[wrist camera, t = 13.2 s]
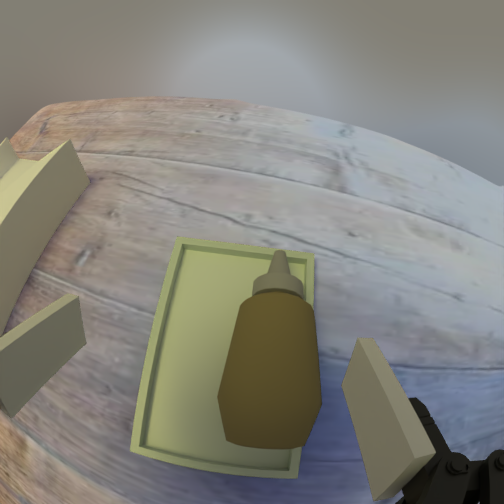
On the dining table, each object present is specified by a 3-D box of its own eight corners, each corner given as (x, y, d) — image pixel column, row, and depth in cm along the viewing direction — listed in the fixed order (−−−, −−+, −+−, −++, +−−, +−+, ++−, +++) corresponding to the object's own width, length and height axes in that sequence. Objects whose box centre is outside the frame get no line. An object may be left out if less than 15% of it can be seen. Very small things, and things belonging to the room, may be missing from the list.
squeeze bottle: (194, 441, 14) (231, 227, 25) (226, 439, 21) (247, 275, 31) (322, 452, 13) (321, 224, 23) (316, 445, 19) (319, 274, 30)
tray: (179, 245, 31) (177, 236, 30) (310, 261, 31) (314, 253, 29) (136, 448, 19) (130, 451, 18) (293, 473, 19) (297, 478, 17)
